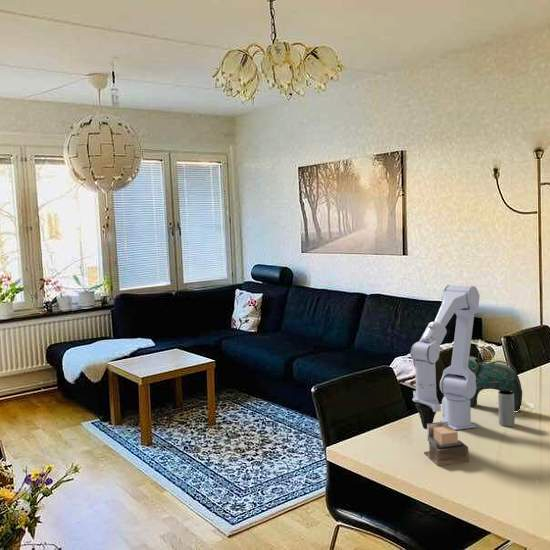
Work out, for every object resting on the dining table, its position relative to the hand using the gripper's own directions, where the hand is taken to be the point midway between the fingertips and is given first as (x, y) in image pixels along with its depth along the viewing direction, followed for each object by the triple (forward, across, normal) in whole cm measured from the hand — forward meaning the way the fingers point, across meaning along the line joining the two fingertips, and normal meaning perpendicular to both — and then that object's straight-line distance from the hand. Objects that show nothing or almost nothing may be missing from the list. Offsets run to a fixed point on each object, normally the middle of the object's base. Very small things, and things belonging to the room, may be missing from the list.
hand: (427, 428), depth 172 cm
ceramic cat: (+5, -22, +33) cm, 40 cm away
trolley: (+2, +11, 0) cm, 11 cm away
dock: (+4, +12, 0) cm, 12 cm away
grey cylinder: (+4, -6, +29) cm, 30 cm away
